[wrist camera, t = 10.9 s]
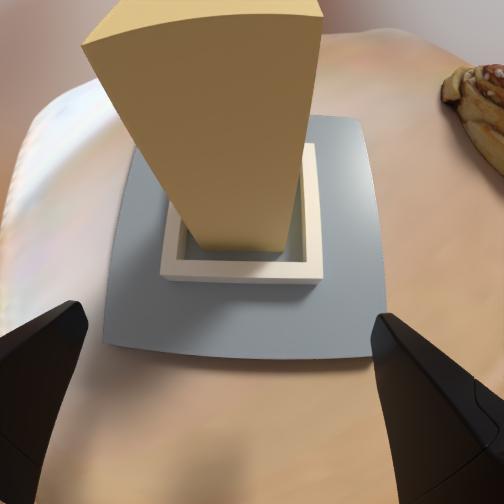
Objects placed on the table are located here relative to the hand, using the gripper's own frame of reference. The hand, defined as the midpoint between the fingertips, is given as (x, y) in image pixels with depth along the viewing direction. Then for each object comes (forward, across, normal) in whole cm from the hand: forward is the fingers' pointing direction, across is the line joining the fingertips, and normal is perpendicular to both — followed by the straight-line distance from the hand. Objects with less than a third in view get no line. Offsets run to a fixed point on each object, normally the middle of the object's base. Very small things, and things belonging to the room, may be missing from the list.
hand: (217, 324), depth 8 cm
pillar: (+10, 0, 0) cm, 10 cm away
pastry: (+19, -26, -7) cm, 33 cm away
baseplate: (+11, 0, +1) cm, 11 cm away
